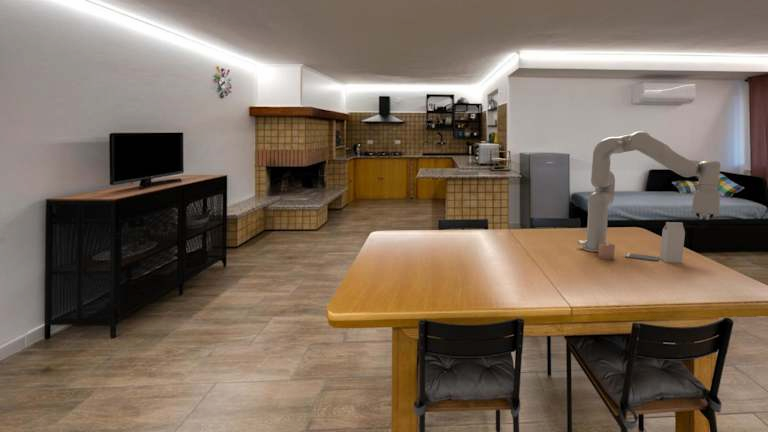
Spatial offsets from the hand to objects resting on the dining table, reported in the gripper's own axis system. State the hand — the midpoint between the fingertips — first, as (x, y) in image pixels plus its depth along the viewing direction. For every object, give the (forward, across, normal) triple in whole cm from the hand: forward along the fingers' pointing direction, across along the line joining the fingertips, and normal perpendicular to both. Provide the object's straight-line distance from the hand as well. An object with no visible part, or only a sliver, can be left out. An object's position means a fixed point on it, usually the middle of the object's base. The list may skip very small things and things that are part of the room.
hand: (703, 227), depth 208 cm
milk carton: (+18, -11, 0) cm, 21 cm away
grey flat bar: (+18, -23, -1) cm, 29 cm away
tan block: (+18, -38, -12) cm, 44 cm away
